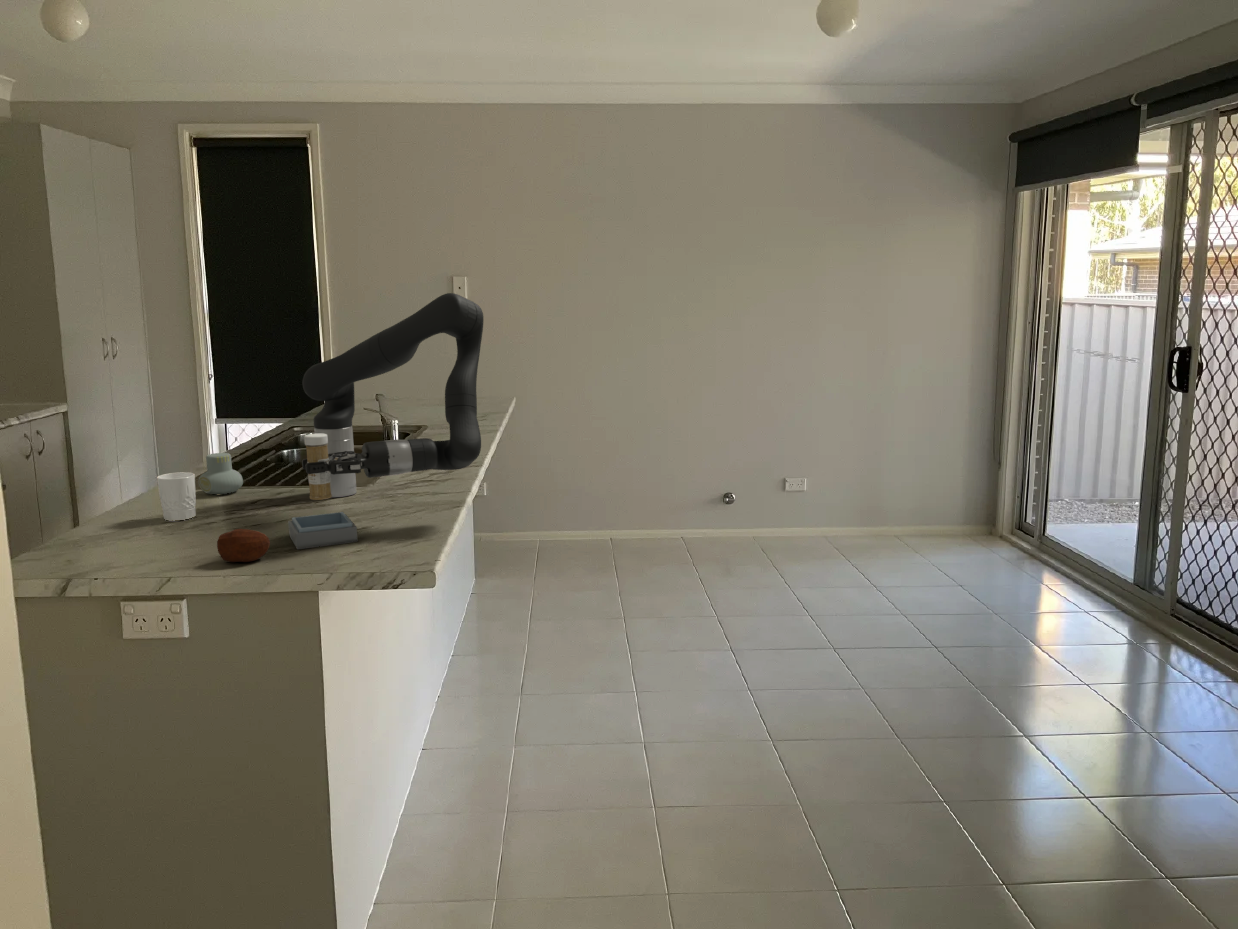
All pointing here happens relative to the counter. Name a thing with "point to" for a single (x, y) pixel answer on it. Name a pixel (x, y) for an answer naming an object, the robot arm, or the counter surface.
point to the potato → (242, 545)
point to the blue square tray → (322, 530)
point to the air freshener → (220, 475)
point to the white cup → (177, 495)
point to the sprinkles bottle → (318, 453)
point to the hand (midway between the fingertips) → (304, 466)
